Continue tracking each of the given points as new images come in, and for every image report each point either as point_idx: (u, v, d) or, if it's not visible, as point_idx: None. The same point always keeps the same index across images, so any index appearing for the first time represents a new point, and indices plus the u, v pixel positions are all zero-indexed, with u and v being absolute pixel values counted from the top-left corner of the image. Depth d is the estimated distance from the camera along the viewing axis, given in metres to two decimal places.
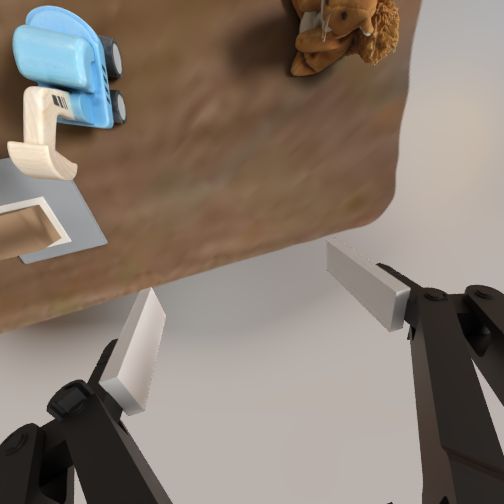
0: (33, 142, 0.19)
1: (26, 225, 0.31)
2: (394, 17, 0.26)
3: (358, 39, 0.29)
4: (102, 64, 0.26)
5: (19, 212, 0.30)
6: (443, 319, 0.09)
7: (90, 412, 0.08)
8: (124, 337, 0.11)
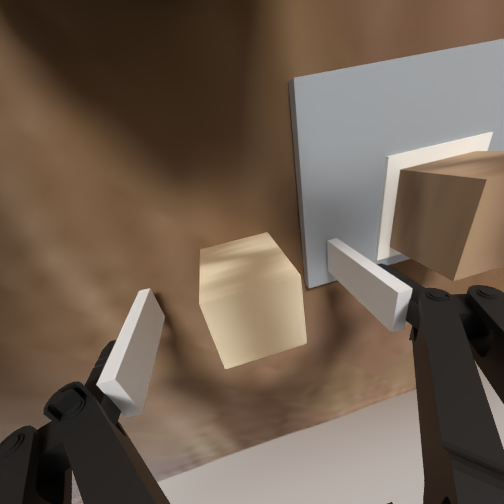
0: None
1: None
2: None
3: None
4: None
5: (472, 176, 0.11)
6: (446, 319, 0.08)
7: (87, 414, 0.08)
8: (122, 338, 0.11)
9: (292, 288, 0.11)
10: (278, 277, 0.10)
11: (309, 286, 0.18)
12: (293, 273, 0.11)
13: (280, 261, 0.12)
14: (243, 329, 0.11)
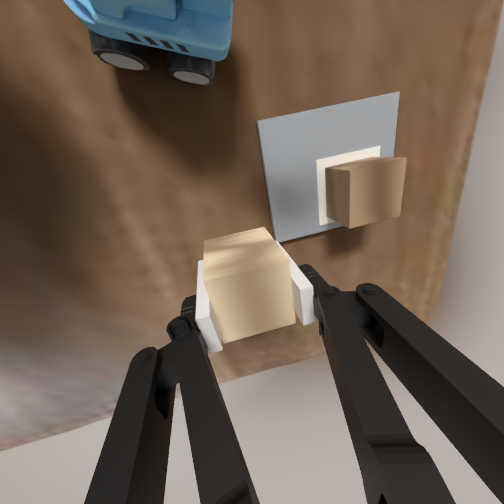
0: None
1: (368, 165, 0.21)
2: None
3: None
4: None
5: (347, 170, 0.21)
6: (340, 312, 0.10)
7: (192, 343, 0.10)
8: (201, 292, 0.13)
9: (282, 270, 0.12)
10: (270, 261, 0.12)
11: None
12: (283, 258, 0.12)
13: (273, 249, 0.14)
14: (240, 306, 0.13)
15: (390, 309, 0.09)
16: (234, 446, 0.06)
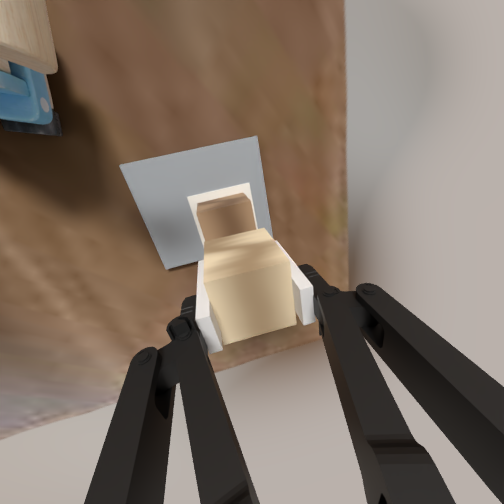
0: None
1: (215, 208, 0.23)
2: None
3: None
4: None
5: (198, 211, 0.23)
6: (340, 312, 0.10)
7: (192, 343, 0.10)
8: (201, 292, 0.13)
9: (282, 272, 0.12)
10: (271, 263, 0.12)
11: (165, 268, 0.30)
12: (283, 259, 0.12)
13: (273, 250, 0.14)
14: (240, 308, 0.13)
15: (390, 309, 0.09)
16: (234, 446, 0.06)
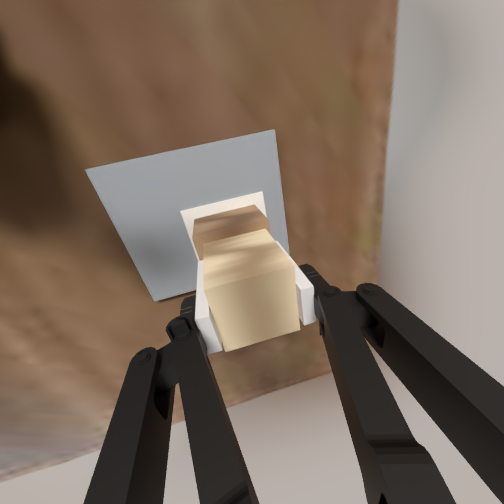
0: None
1: (219, 230, 0.16)
2: None
3: None
4: None
5: (194, 234, 0.17)
6: (340, 312, 0.10)
7: (191, 343, 0.10)
8: (201, 292, 0.13)
9: (286, 277, 0.12)
10: (274, 267, 0.12)
11: (154, 300, 0.24)
12: (287, 264, 0.12)
13: (276, 254, 0.13)
14: (242, 314, 0.12)
15: (391, 309, 0.09)
16: (234, 446, 0.06)
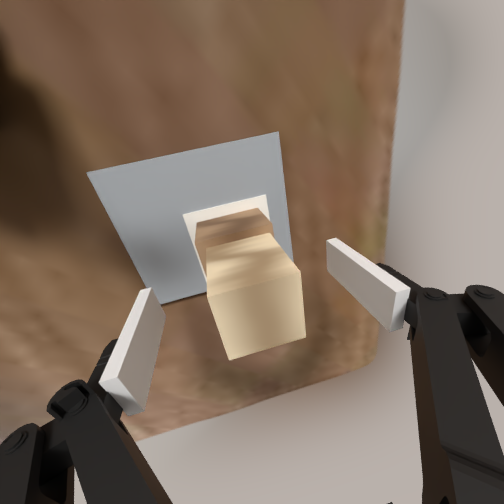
0: None
1: (222, 235, 0.16)
2: None
3: None
4: None
5: (197, 239, 0.16)
6: (443, 319, 0.09)
7: (90, 412, 0.08)
8: (124, 337, 0.11)
9: (292, 283, 0.11)
10: (280, 274, 0.11)
11: None
12: (293, 270, 0.11)
13: (281, 259, 0.13)
14: (247, 322, 0.12)
15: None
16: None
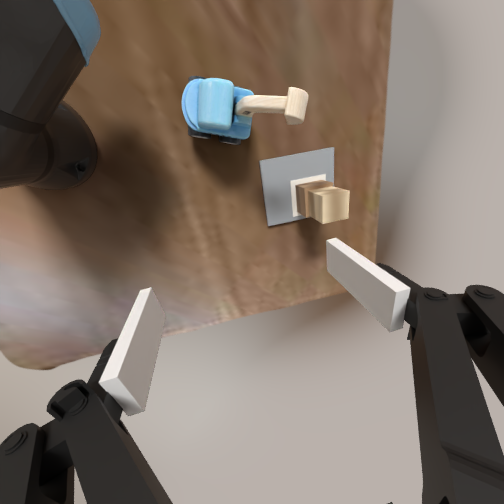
0: (284, 101, 0.26)
1: (314, 186, 0.42)
2: None
3: None
4: None
5: (303, 187, 0.42)
6: (443, 319, 0.09)
7: (90, 412, 0.08)
8: (124, 337, 0.11)
9: (346, 195, 0.37)
10: (343, 191, 0.37)
11: (268, 225, 0.49)
12: (347, 190, 0.37)
13: (341, 189, 0.38)
14: (331, 208, 0.38)
15: None
16: None
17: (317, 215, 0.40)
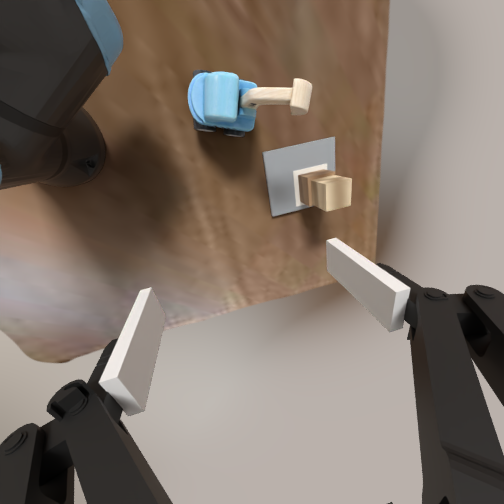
0: (290, 92, 0.27)
1: (316, 175, 0.43)
2: None
3: None
4: None
5: (306, 177, 0.43)
6: (443, 319, 0.09)
7: (90, 412, 0.08)
8: (124, 337, 0.11)
9: (349, 182, 0.39)
10: (345, 179, 0.39)
11: (272, 215, 0.50)
12: (349, 178, 0.39)
13: (343, 178, 0.40)
14: (334, 195, 0.39)
15: None
16: None
17: (320, 203, 0.42)
